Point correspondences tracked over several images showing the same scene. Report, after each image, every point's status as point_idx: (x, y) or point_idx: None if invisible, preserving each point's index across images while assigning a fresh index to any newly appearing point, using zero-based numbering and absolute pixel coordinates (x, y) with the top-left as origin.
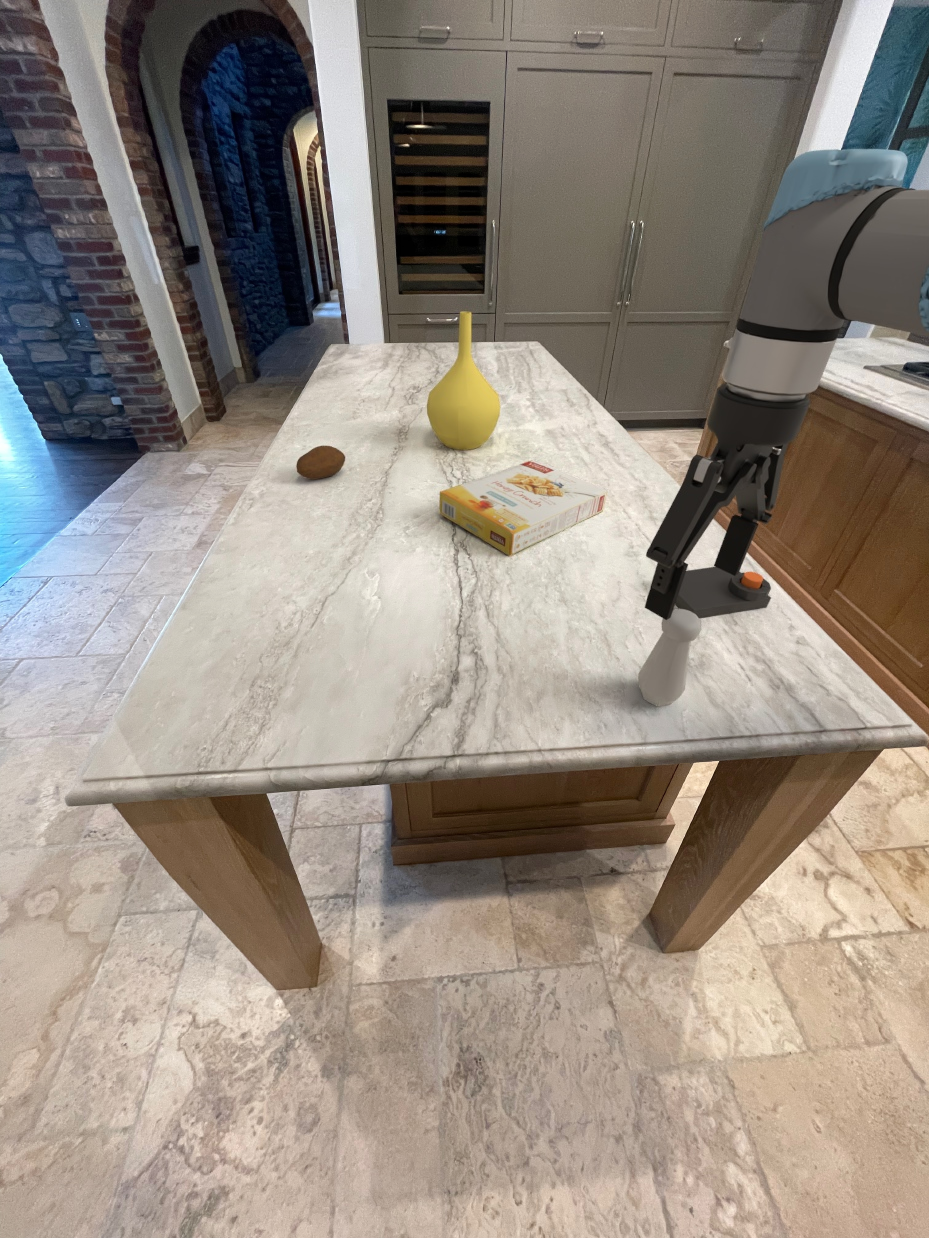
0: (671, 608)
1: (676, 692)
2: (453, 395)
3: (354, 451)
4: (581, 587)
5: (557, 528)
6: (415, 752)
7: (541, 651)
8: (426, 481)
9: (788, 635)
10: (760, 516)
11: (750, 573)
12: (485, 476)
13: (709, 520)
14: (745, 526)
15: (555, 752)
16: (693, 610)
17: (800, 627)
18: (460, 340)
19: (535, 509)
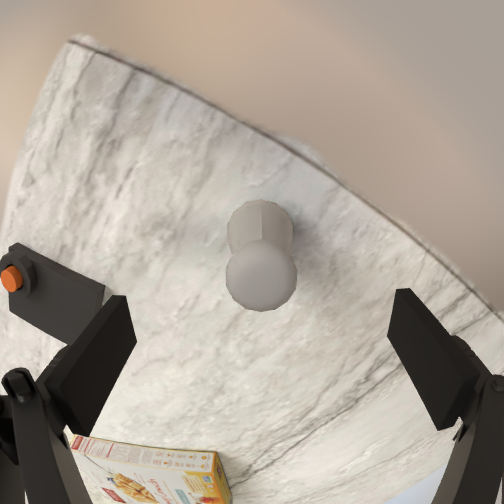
0: (417, 302)
1: (269, 204)
2: None
3: None
4: (181, 393)
5: (141, 450)
6: (482, 309)
7: (313, 351)
8: None
9: (31, 195)
10: (32, 400)
11: (8, 287)
12: None
13: (471, 500)
14: (75, 397)
15: (420, 239)
16: (98, 293)
17: (13, 197)
18: None
19: (161, 479)
